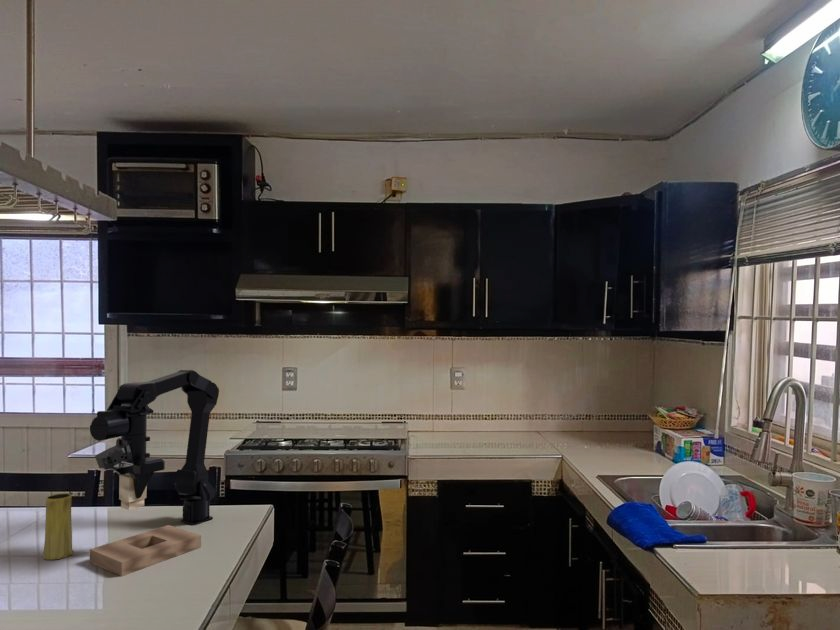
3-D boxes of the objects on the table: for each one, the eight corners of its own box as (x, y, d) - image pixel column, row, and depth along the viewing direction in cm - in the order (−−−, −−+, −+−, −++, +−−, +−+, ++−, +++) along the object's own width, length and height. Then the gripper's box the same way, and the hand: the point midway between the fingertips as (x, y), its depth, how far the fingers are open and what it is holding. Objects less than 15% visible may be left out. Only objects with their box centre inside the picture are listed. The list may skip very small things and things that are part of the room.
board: (168, 536, 149) (168, 524, 149) (200, 547, 141) (201, 535, 141) (89, 562, 132) (89, 549, 132) (121, 576, 124) (121, 562, 125)
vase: (62, 560, 134) (63, 499, 134) (37, 560, 134) (37, 499, 134) (78, 550, 140) (79, 492, 140) (53, 550, 140) (54, 492, 140)
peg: (136, 503, 143) (137, 471, 144) (146, 506, 141) (146, 473, 141) (119, 507, 140) (119, 475, 140) (128, 510, 137) (128, 477, 138)
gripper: (81, 434, 140) (80, 498, 139) (120, 442, 129) (119, 511, 129) (126, 428, 149) (125, 488, 148) (166, 435, 138) (165, 499, 138)
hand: (133, 496), depth 140 cm, fingers closed on peg, 4 cm apart
